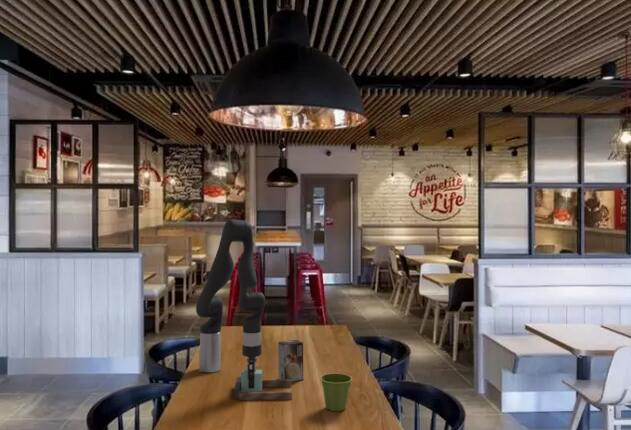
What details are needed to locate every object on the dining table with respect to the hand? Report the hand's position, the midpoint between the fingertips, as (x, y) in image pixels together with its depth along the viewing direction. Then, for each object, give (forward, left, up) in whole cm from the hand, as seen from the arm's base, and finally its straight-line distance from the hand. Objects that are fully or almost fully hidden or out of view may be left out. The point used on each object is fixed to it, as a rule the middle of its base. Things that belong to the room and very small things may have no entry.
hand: (251, 385), depth 225 cm
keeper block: (0, 0, -1) cm, 1 cm away
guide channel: (+5, 0, -3) cm, 5 cm away
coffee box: (+16, +17, -3) cm, 23 cm away
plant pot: (+32, -19, -3) cm, 37 cm away
